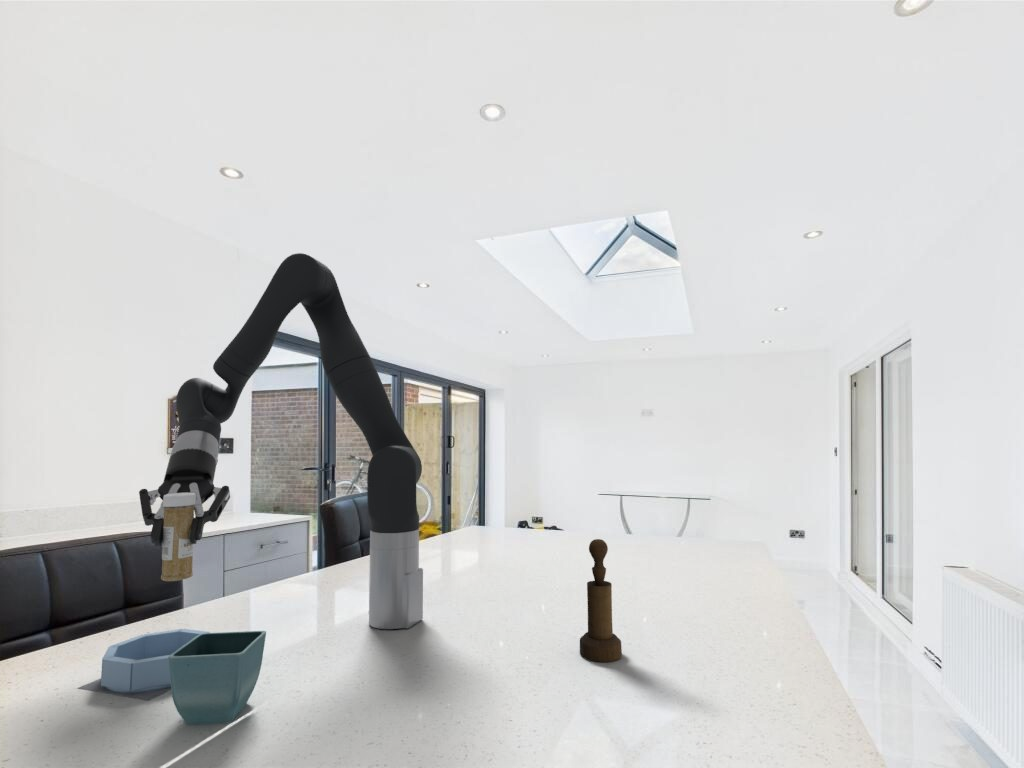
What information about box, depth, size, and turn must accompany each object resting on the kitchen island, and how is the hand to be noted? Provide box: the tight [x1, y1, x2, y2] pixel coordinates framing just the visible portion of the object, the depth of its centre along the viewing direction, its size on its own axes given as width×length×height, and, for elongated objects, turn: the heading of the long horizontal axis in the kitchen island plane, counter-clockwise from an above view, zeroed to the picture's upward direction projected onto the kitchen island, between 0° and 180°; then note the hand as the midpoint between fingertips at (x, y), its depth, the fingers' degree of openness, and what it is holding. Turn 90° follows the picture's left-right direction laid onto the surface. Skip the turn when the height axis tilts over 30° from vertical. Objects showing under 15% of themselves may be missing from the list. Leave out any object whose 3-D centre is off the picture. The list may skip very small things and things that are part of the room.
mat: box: [77, 678, 171, 701], centre depth 84 cm, size 13×14×1 cm
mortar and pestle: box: [579, 538, 623, 663], centre depth 92 cm, size 7×6×18 cm
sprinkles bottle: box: [160, 493, 196, 582], centre depth 92 cm, size 5×5×13 cm
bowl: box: [100, 628, 211, 693], centre depth 84 cm, size 13×13×4 cm
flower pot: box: [168, 630, 267, 726], centre depth 72 cm, size 9×9×9 cm
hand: (175, 541), depth 90 cm, fingers closed on sprinkles bottle, 4 cm apart
